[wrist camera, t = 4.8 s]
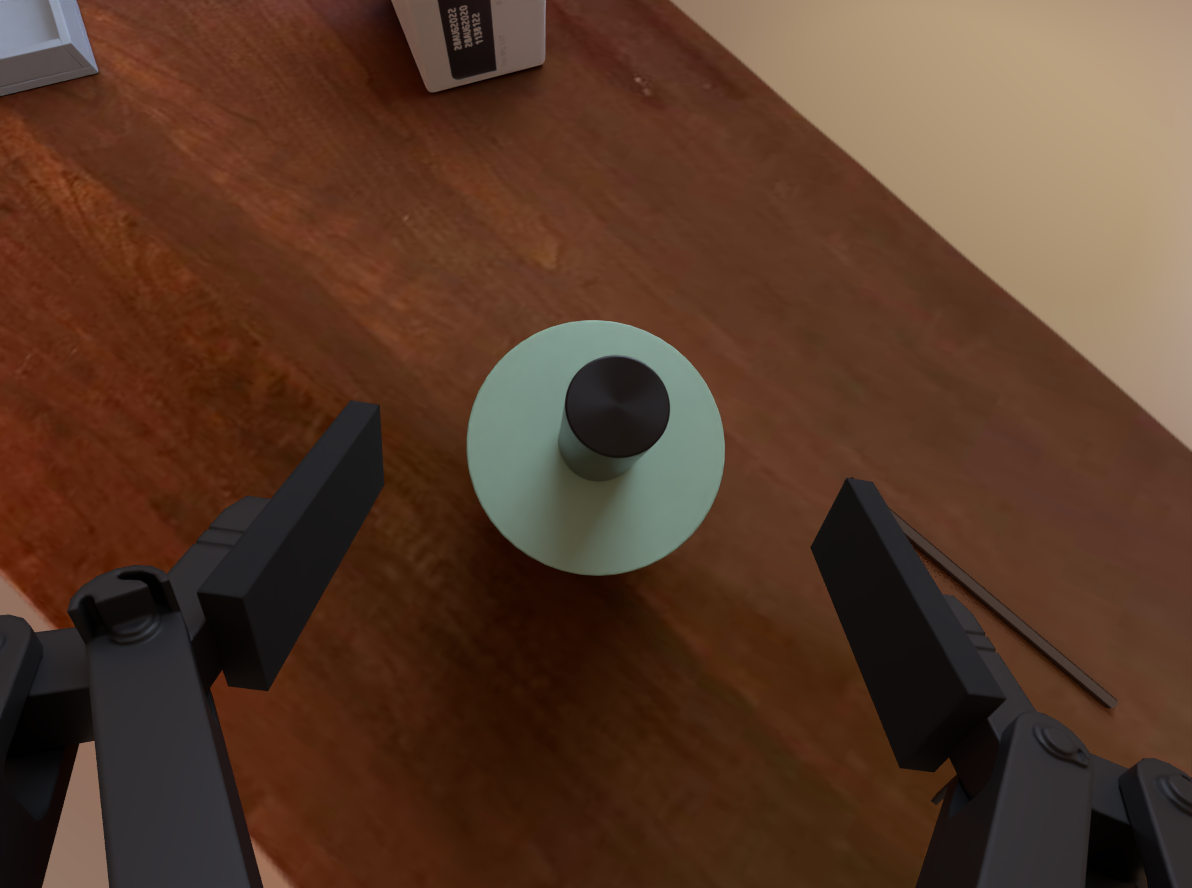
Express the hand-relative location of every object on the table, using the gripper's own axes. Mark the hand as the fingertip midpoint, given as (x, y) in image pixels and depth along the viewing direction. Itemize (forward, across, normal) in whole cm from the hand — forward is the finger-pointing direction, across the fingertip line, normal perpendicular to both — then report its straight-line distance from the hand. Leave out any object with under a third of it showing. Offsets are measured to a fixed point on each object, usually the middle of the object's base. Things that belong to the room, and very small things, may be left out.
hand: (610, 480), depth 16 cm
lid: (+5, 0, -2) cm, 6 cm away
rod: (+10, +23, -12) cm, 28 cm away
